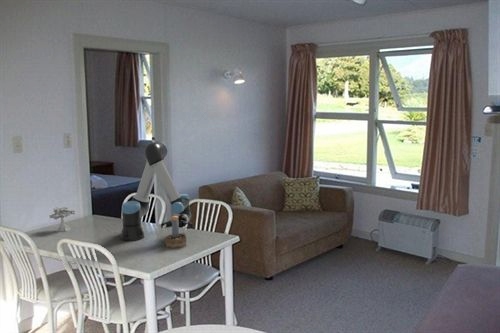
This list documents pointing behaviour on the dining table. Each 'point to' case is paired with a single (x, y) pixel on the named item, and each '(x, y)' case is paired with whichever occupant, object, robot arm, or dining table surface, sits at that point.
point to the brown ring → (175, 241)
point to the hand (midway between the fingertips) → (174, 228)
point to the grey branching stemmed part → (62, 214)
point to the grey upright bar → (175, 227)
